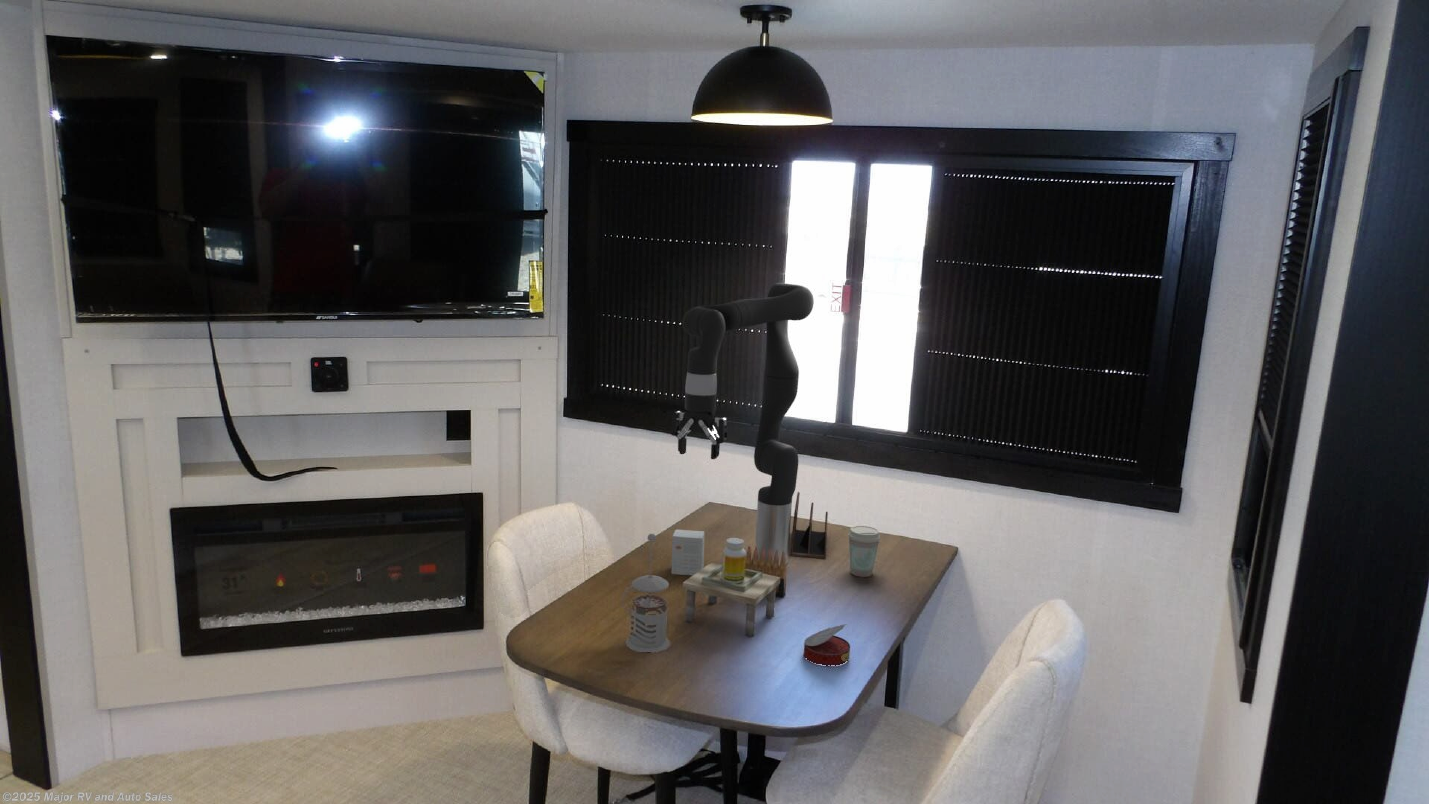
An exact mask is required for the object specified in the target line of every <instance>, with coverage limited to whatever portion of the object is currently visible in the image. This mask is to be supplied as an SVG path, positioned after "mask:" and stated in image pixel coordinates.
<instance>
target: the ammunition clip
mask: <svg viewBox="0 0 1429 804" xmlns="http://www.w3.org/2000/svg"><path fill="white" fill-rule="evenodd" d="M751 548H752V547H751V545H748V546H747V550H746V562H745V569H749V570H753V571H758V572H763V573H762V574H767V575H771V576H776V577H780V584H779V585H778V586H777V587H776V592H775V598H779V599H784V598H785V597H786V591H787V589H786V585H787V584H786V581H787V579H786V578H787V575H786V574H787V572H786V571H787V566H786V565H787V564H786V556H785V552H784V551H783V552H782V556H781V562H780V566H779V554H778V550H776V552H775V555H774V563H773V567H772V552H771V549H769V551H768V555H767V563H766V564H765V550H764V548H762V551H761V556H760V563H759V562H758V549H757V547H755V546H754V550H753V557H752V549H751ZM765 597H767V595H766V596H765Z"/></svg>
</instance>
